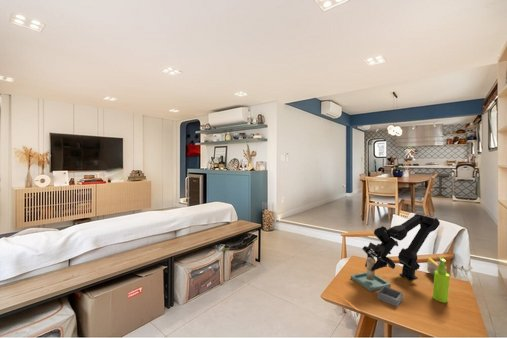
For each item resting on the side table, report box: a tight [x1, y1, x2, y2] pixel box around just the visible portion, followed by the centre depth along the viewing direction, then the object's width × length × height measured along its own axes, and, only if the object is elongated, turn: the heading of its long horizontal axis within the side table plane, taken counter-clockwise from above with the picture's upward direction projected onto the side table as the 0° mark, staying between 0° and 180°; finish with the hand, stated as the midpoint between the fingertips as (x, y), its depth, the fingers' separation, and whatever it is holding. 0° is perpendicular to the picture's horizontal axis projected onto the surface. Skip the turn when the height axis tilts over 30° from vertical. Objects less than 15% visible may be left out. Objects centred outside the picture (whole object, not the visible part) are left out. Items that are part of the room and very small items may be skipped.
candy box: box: [426, 257, 439, 277], centre depth 138 cm, size 16×2×8 cm, turn 168°
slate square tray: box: [376, 286, 404, 308], centre depth 116 cm, size 9×9×4 cm
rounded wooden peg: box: [365, 257, 376, 281], centre depth 131 cm, size 4×4×11 cm
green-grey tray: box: [350, 271, 392, 292], centre depth 131 cm, size 14×14×2 cm
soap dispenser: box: [432, 256, 451, 303], centre depth 117 cm, size 6×7×20 cm
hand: (368, 268), depth 130 cm, fingers closed on rounded wooden peg, 4 cm apart
